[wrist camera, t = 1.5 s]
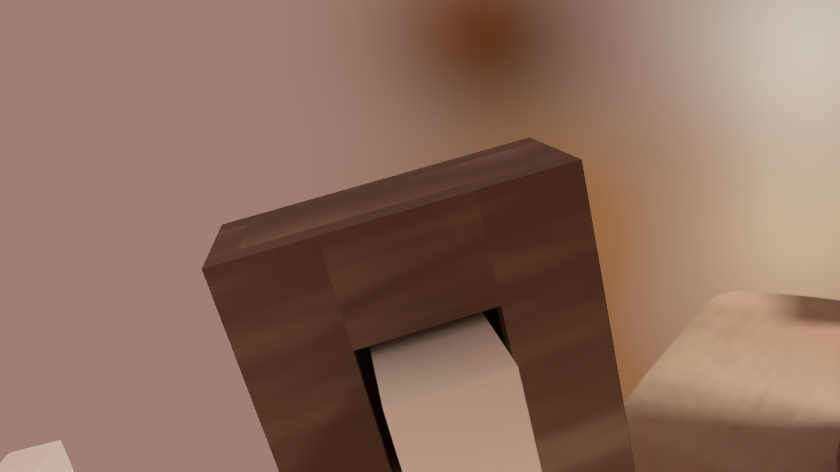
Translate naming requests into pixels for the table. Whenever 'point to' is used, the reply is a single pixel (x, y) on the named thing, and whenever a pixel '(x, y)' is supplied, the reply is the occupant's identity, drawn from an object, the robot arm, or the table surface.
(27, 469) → the robot arm
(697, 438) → the table surface
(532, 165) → the switch panel
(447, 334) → the top key
